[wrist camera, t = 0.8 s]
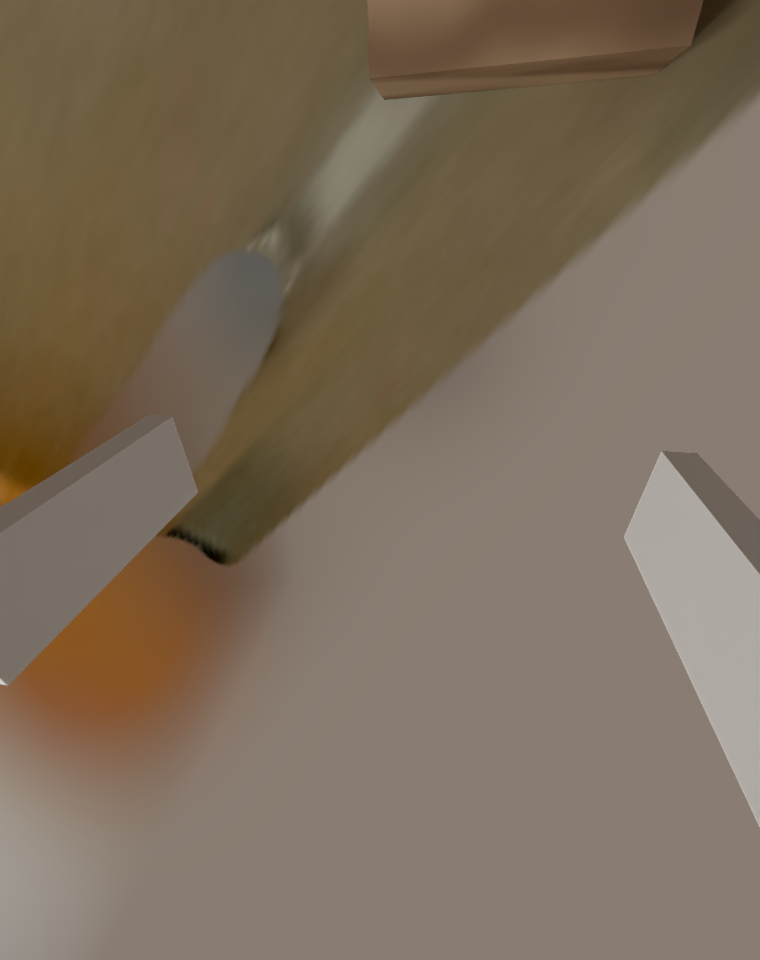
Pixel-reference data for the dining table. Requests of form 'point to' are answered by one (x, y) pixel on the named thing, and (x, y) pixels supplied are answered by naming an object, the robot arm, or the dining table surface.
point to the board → (520, 42)
